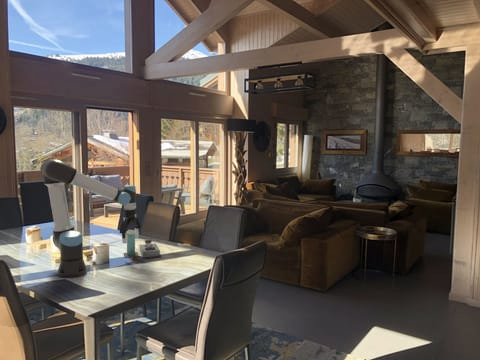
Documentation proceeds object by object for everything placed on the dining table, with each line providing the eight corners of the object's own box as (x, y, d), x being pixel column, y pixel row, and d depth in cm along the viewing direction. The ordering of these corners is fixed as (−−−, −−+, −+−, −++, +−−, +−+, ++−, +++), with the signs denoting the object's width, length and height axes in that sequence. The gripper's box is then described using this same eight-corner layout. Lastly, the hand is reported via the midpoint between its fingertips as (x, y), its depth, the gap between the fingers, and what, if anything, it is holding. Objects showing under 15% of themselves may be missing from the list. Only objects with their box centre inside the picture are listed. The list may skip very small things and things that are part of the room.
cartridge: (132, 255, 245) (132, 231, 244) (125, 254, 247) (124, 230, 246) (136, 253, 250) (136, 229, 249) (129, 252, 252) (129, 229, 251)
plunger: (145, 251, 255) (145, 241, 254) (144, 249, 259) (144, 239, 258) (152, 250, 256) (152, 240, 256) (151, 249, 261) (151, 238, 260)
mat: (124, 257, 243) (124, 257, 243) (123, 253, 251) (123, 253, 251) (138, 256, 246) (138, 255, 246) (137, 252, 254) (137, 251, 254)
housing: (159, 256, 247) (159, 250, 247) (142, 257, 243) (142, 251, 243) (155, 249, 263) (155, 243, 263) (139, 250, 259) (139, 244, 259)
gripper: (123, 212, 233) (124, 246, 235) (145, 206, 256) (146, 236, 258) (113, 211, 235) (114, 244, 237) (136, 205, 258) (136, 235, 261)
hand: (130, 240), depth 248 cm, fingers open, 13 cm apart
